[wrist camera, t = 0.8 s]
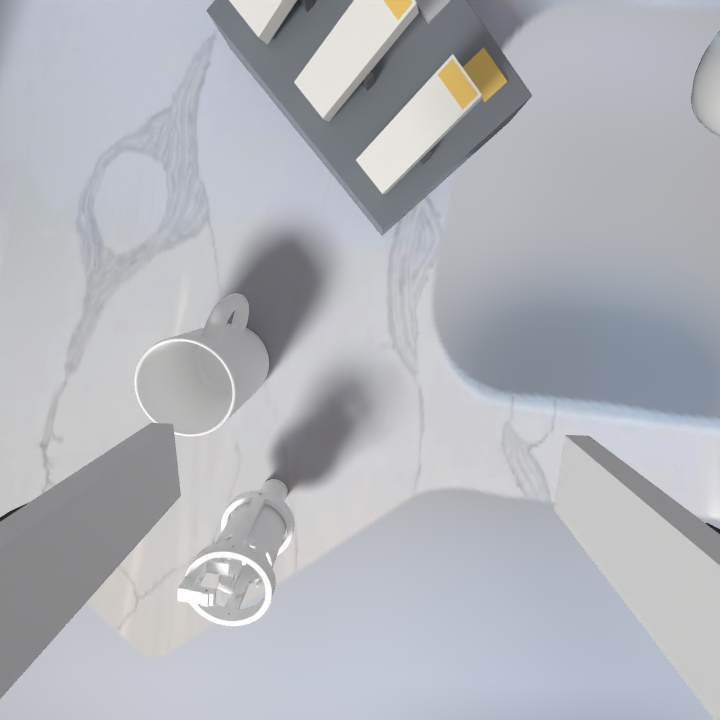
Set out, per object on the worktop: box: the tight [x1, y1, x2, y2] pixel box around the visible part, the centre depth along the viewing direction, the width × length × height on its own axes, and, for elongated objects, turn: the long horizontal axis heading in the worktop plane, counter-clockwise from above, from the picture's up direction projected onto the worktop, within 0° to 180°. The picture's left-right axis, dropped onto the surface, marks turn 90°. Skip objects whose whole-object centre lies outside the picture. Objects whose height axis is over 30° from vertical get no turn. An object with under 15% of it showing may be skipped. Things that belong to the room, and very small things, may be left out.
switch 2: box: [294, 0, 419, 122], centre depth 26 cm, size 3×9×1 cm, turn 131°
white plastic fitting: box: [177, 479, 294, 626], centre depth 35 cm, size 7×7×15 cm
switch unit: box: [206, 0, 532, 235], centre depth 30 cm, size 21×15×6 cm
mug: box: [134, 293, 269, 436], centre depth 34 cm, size 12×8×10 cm
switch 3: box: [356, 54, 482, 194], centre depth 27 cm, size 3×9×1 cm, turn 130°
